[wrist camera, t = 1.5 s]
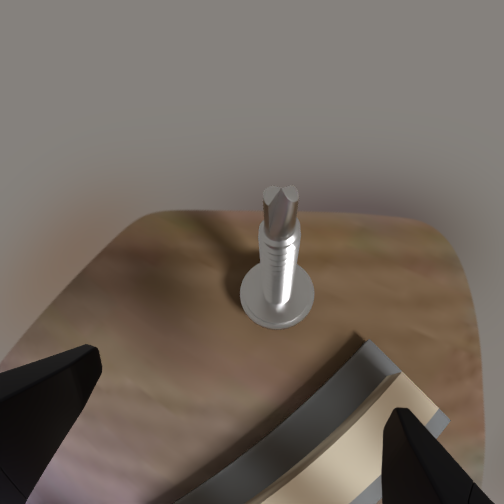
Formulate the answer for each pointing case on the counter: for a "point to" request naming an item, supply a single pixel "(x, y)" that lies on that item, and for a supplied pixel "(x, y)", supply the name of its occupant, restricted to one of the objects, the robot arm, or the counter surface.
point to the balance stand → (326, 441)
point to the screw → (278, 266)
